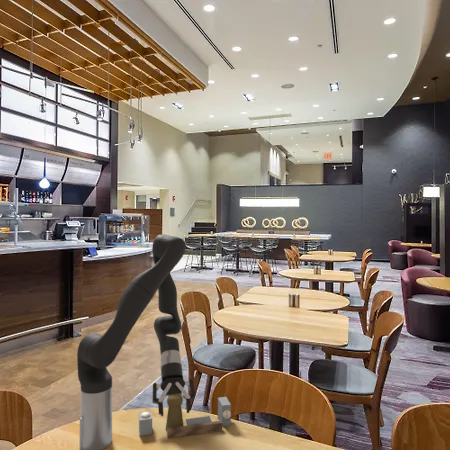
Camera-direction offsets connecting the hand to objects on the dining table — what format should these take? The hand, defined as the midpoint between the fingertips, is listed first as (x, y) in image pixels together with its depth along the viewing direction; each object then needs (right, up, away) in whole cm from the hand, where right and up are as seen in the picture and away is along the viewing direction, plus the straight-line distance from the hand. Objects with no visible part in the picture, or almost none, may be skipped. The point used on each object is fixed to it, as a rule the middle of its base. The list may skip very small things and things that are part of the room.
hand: (175, 413), depth 121 cm
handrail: (+7, -5, -1) cm, 9 cm away
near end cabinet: (-10, -5, 0) cm, 11 cm away
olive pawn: (0, -6, +1) cm, 6 cm away
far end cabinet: (+16, -6, +6) cm, 18 cm away
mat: (+8, -5, +4) cm, 10 cm away
